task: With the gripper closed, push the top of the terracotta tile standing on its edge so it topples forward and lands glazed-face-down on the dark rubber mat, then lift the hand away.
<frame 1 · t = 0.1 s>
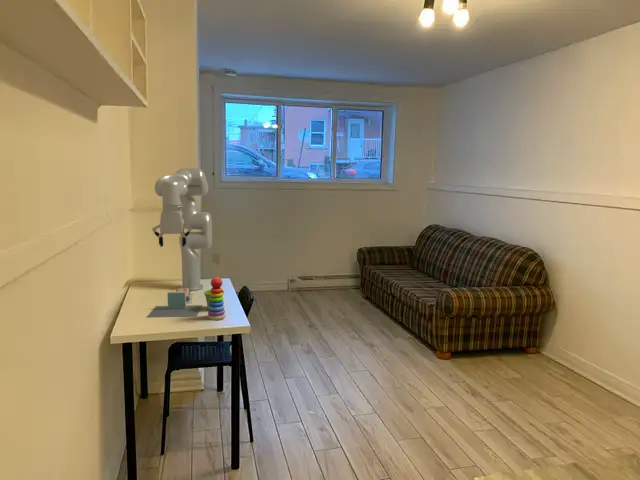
hand: (172, 246, 218), 31 cm above the table, tool pointing down, fingers open, 9 cm apart
stacking toy: (216, 318, 215), on the table
tile: (177, 308, 227), resting on mat
packaged product: (182, 300, 244), on the table
mat: (175, 311, 223), on the table
plant pot: (214, 309, 228), on the table
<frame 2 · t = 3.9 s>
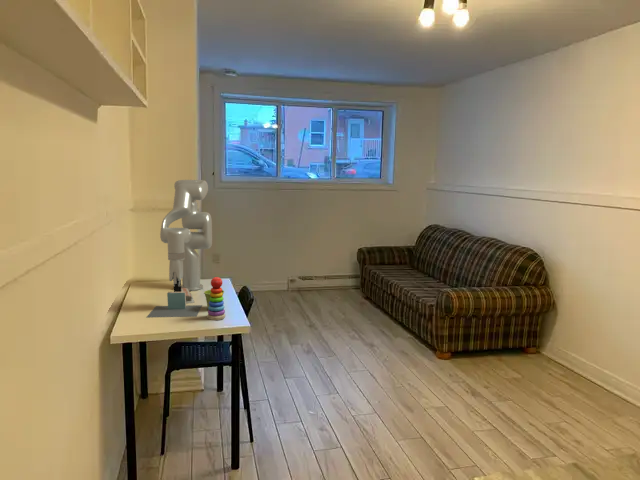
hand: (177, 294, 229), 7 cm above the table, tool pointing down, fingers closed
tile: (177, 308, 227), resting on mat, touching gripper
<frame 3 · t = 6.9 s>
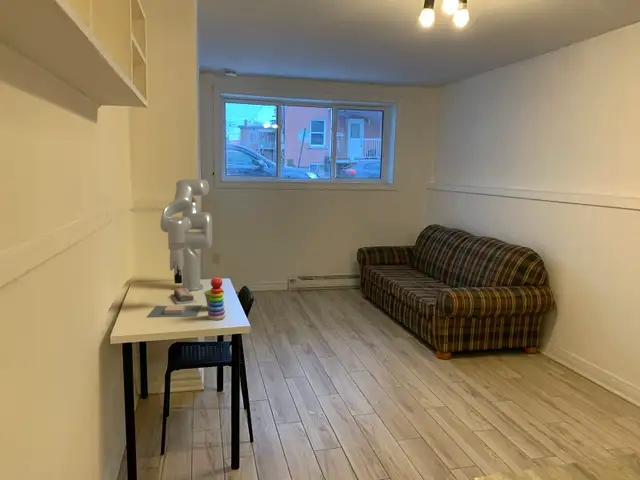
hand: (178, 282, 230), 12 cm above the table, tool pointing down, fingers closed
tile: (176, 307, 226), point 1 cm above the table, tilted 90°, touching mat
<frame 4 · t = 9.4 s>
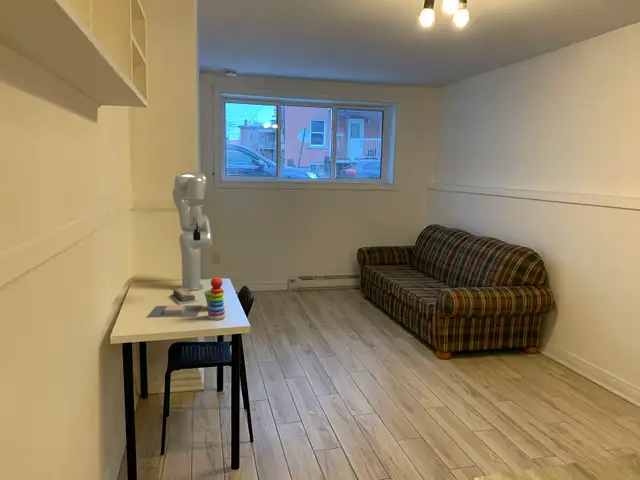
hand: (196, 240, 236), 31 cm above the table, tool pointing down, fingers closed
at the end: tile tilted 90°; tile inside the target area on the mat (3.4 cm from its centre), point 1.3 cm above the mat's base; tile touching mat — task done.
